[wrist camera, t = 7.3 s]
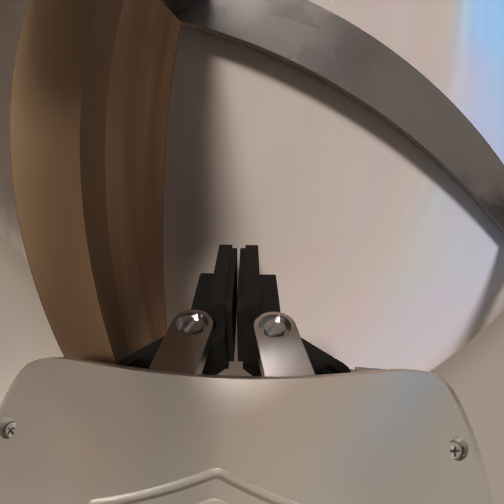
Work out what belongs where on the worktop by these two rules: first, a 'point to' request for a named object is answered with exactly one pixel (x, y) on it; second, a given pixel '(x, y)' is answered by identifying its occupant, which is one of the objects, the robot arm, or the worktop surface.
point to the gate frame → (360, 81)
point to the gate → (94, 167)
